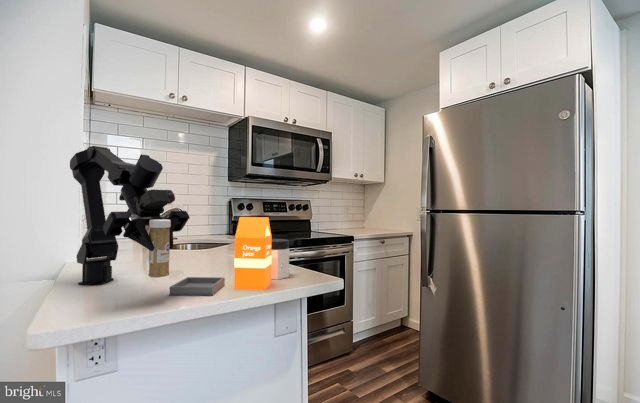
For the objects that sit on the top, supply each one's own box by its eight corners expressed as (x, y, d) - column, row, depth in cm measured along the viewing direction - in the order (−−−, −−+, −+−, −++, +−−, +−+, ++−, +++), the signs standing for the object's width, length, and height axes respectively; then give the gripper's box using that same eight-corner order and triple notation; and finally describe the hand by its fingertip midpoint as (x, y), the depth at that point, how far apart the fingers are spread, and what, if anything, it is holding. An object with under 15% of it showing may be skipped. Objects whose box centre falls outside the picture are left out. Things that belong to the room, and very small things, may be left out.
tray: (169, 295, 83) (169, 286, 83) (187, 284, 94) (187, 277, 94) (212, 295, 83) (212, 287, 83) (224, 285, 94) (224, 277, 94)
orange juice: (242, 282, 98) (243, 216, 98) (271, 283, 97) (272, 216, 97) (233, 288, 90) (234, 217, 90) (264, 290, 89) (265, 218, 89)
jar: (272, 281, 99) (272, 242, 99) (257, 276, 105) (258, 240, 105) (294, 276, 105) (294, 240, 105) (279, 272, 111) (280, 238, 111)
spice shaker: (167, 277, 75) (168, 219, 75) (145, 278, 74) (146, 219, 74) (171, 273, 79) (172, 218, 79) (151, 274, 78) (152, 218, 78)
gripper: (109, 175, 71) (134, 228, 65) (186, 180, 86) (211, 224, 80) (93, 209, 75) (114, 262, 69) (169, 209, 91) (191, 252, 84)
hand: (162, 248), depth 76 cm, fingers closed on spice shaker, 4 cm apart
